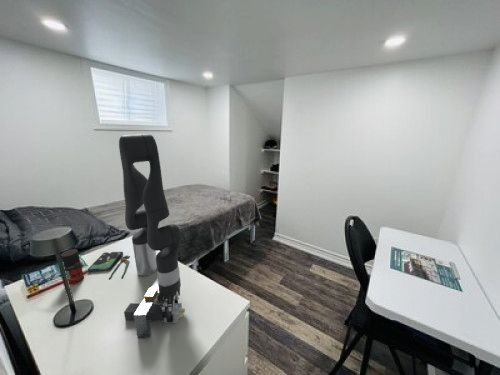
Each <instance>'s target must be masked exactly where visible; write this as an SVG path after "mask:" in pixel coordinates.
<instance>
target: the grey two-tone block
mask: <svg viewBox="0 0 500 375" xmlns="http://www.w3.org/2000/svg"><path fill="white" fill-rule="evenodd" d="M140 304H141V302H140V303H133V302H131V303H129V304H128V306H127V307H126V308H125V310H123V313H124V320H125V321H128V322H129V321H133V322H135V321H134V313H135V312H136V310H137V309H138V307H139V306H140ZM163 304H164V303H154V304H153V306H152V308H151V309H150V311H149V313H148V316H149V322H164V323H166V324H168V323H169V324H172V323H173V324H176V323H177V324H179V322H180V319H181V318H183V317H184V313H186V308H183V305H182V304H183V303H182V302H178V303H174V307H173V322H167V319H166V318H162V315H161V312H160V306H163ZM167 305H172V304H167ZM169 311H170V309H169Z"/></svg>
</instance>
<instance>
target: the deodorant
mask: <svg viewBox="0 0 500 375" xmlns="http://www.w3.org/2000/svg"><path fill="white" fill-rule="evenodd" d="M61 256H62V259H63V262H64V266H63V268H64V267H65V270H64V272H65V271H66V274H65V276H66V275H67V278H68V280H69V284H70V285H69V284H68V285H69V286H74V285H77V284H80V283H81V282H83V281H84V279H85V275H84V271H83V268H82V263H81V258H80V254H79V251H78V249H76V248H72V249H68V250H65V251H63V252H62V253H60V257H61ZM62 259H61V260H62ZM67 278H66V279H67Z"/></svg>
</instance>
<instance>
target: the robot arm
mask: <svg viewBox="0 0 500 375" xmlns="http://www.w3.org/2000/svg"><path fill="white" fill-rule="evenodd" d="M118 149H119V155H120V156H119V157H120V161H121V168H122V178H123V180H122V181H123V184H122V185H123V197H124V203H125V204H124V206H125V212H124V221H125V226H126V228H127V229H128V230H130V231H135V230H139V229H140V230H139V231H137V232H136V233H134V234H133V235H132V237H131V241H132V242H131V243H132V249H133V253H134V259H135V267H136V273H137V275H138V276H140V277H147V276H149V275H152V274H154V273H155V272H156V277H157V278H156V279H157V280H158V288H159V292H160V294H162V295H163V296H164V297H163V302H162V304H163V306H160V312H161V315H162V318H166V319H167V322H173V307H174V303H179V300H180V299H179V298H180V295H181V284H182V282H181V274H180V272H181V271H180V267H179V260H178V253H179V248H180V243H181V240H182V239H181V238H182V234H181V229H180V228H179V226H178V225H177V224H175V223H169V224H168V225H165V226H161V227H159V224H160V222H161V221H163V220H165V219H167V218H168V217H170V211H169V206H168V202H167V198H166V195H165V191H164V187H163V186H164V185H163V179H162V178H163V177H162V168H161V161H160V155H159V148H158V145H157V141H156V139H155V137H154V136H153V135H152V134H149V133H145V134H144V133H143V134H123V135H121V136H120V137H119V140H118ZM144 162H149V163H148V164H149V174H148V178H147V177H146V176H145V175H144V174H143V173H142V172H140V171H139V170H138V169H137V168H136V166H135V165H134V164H135V163H144ZM141 207H142V208H141ZM157 251H159V252H158V253H157ZM167 304H172V305H167ZM169 309H170V311H169Z"/></svg>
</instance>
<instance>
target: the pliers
mask: <svg viewBox="0 0 500 375" xmlns="http://www.w3.org/2000/svg"><path fill="white" fill-rule="evenodd" d="M130 257H131V256H130V255H123V256H122V257H121V258H120V262H119V263H118V264H116V267H115V268H114V270H113V271H112V272H111V274H110V276H109V277H108V280H111V279H112V278H113V275H114V274H115V273H116V271H117V270H118V269H119V268H120V267H121V265H122V264H123V263H124V264H125V267H124V271H123V273H122V274H121V280H123V279H124V277H125V276H126V273H127V271H128V268H129V264H130V260H129V259H130Z"/></svg>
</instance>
